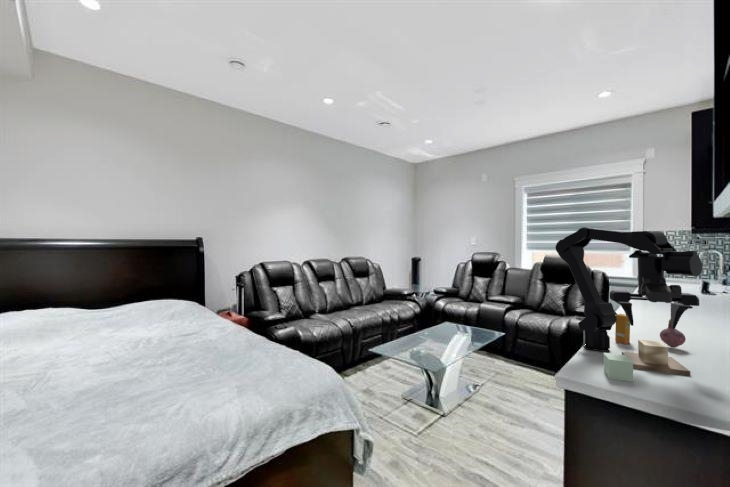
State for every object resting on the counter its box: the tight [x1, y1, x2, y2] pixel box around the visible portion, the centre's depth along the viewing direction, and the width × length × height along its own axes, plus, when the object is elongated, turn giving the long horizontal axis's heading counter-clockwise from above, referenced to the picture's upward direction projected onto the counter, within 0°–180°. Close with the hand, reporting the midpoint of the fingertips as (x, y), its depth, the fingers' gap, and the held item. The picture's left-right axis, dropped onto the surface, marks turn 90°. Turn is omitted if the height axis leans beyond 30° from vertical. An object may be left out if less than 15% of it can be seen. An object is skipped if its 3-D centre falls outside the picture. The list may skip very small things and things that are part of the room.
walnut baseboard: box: [621, 351, 691, 377], centre depth 92 cm, size 12×12×1 cm
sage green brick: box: [603, 352, 634, 382], centre depth 85 cm, size 5×6×5 cm
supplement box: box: [614, 313, 631, 345], centre depth 113 cm, size 3×3×10 cm
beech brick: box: [637, 339, 669, 365], centre depth 92 cm, size 5×6×5 cm
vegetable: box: [659, 318, 687, 349], centre depth 106 cm, size 6×6×10 cm
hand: (652, 327), depth 92 cm, fingers open, 9 cm apart
